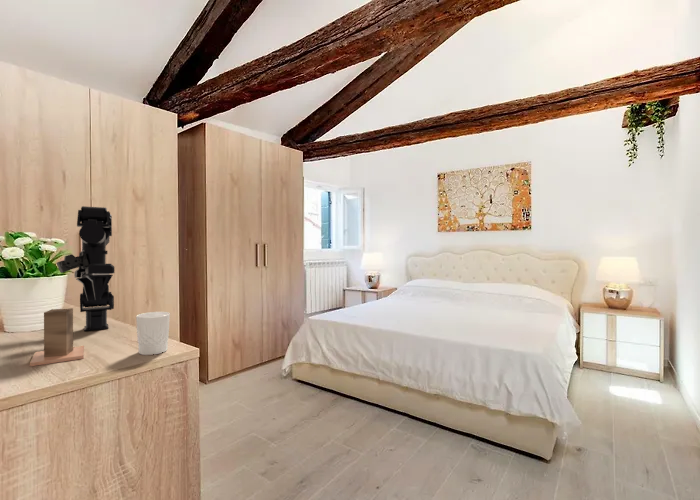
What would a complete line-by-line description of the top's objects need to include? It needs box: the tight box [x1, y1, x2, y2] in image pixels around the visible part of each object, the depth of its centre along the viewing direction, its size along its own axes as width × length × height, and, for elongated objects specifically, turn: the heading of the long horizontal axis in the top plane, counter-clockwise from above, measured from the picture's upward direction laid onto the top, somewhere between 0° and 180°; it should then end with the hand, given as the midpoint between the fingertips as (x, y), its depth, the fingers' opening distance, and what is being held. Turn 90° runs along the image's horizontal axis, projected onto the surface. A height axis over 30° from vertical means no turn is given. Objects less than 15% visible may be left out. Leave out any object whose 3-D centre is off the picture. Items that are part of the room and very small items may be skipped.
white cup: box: [135, 311, 171, 356], centre depth 94 cm, size 8×8×10 cm
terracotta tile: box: [29, 345, 85, 367], centre depth 89 cm, size 10×10×1 cm
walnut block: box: [43, 308, 74, 357], centre depth 89 cm, size 4×4×11 cm
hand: (93, 300), depth 104 cm, fingers open, 9 cm apart
